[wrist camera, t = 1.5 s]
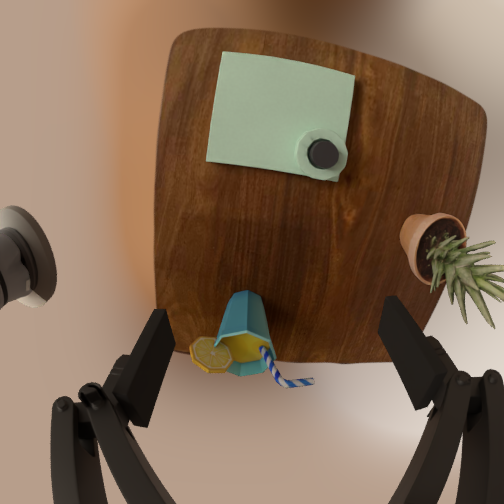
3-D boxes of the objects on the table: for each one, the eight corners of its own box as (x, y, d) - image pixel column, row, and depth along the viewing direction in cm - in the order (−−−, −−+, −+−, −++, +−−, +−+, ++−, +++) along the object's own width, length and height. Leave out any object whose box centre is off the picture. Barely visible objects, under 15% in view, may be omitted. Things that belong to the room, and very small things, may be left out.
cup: (304, 288, 39) (325, 363, 25) (293, 330, 42) (306, 407, 28) (205, 277, 38) (181, 351, 24) (203, 321, 41) (185, 397, 27)
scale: (207, 160, 32) (203, 162, 29) (223, 54, 26) (220, 46, 24) (335, 180, 33) (342, 184, 30) (352, 77, 27) (360, 72, 24)
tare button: (307, 164, 29) (310, 165, 28) (311, 138, 28) (314, 138, 27) (332, 169, 30) (336, 170, 28) (336, 144, 28) (341, 144, 27)
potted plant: (448, 219, 34) (564, 300, 11) (419, 270, 37) (512, 377, 15) (407, 187, 32) (549, 264, 10) (375, 245, 36) (481, 369, 13)
